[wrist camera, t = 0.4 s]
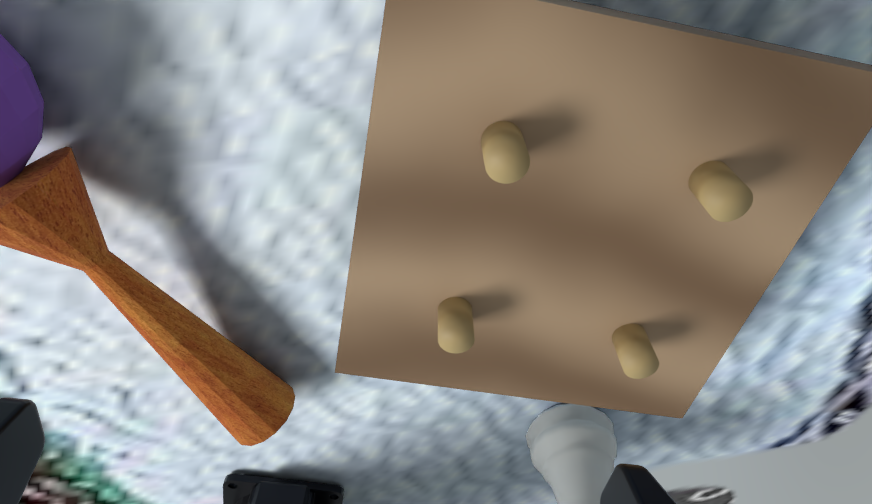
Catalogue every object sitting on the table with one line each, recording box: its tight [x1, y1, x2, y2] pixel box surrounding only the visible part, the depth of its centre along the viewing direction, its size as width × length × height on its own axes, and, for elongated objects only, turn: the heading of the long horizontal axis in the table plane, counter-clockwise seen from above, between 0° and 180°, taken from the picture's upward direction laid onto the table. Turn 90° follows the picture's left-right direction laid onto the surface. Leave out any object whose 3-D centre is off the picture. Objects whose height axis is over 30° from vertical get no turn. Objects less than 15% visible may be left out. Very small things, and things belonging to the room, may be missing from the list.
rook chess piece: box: [526, 403, 617, 504], centre depth 26 cm, size 4×4×8 cm
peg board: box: [335, 0, 872, 418], centre depth 20 cm, size 14×14×6 cm
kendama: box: [0, 34, 295, 446], centre depth 21 cm, size 6×6×20 cm
